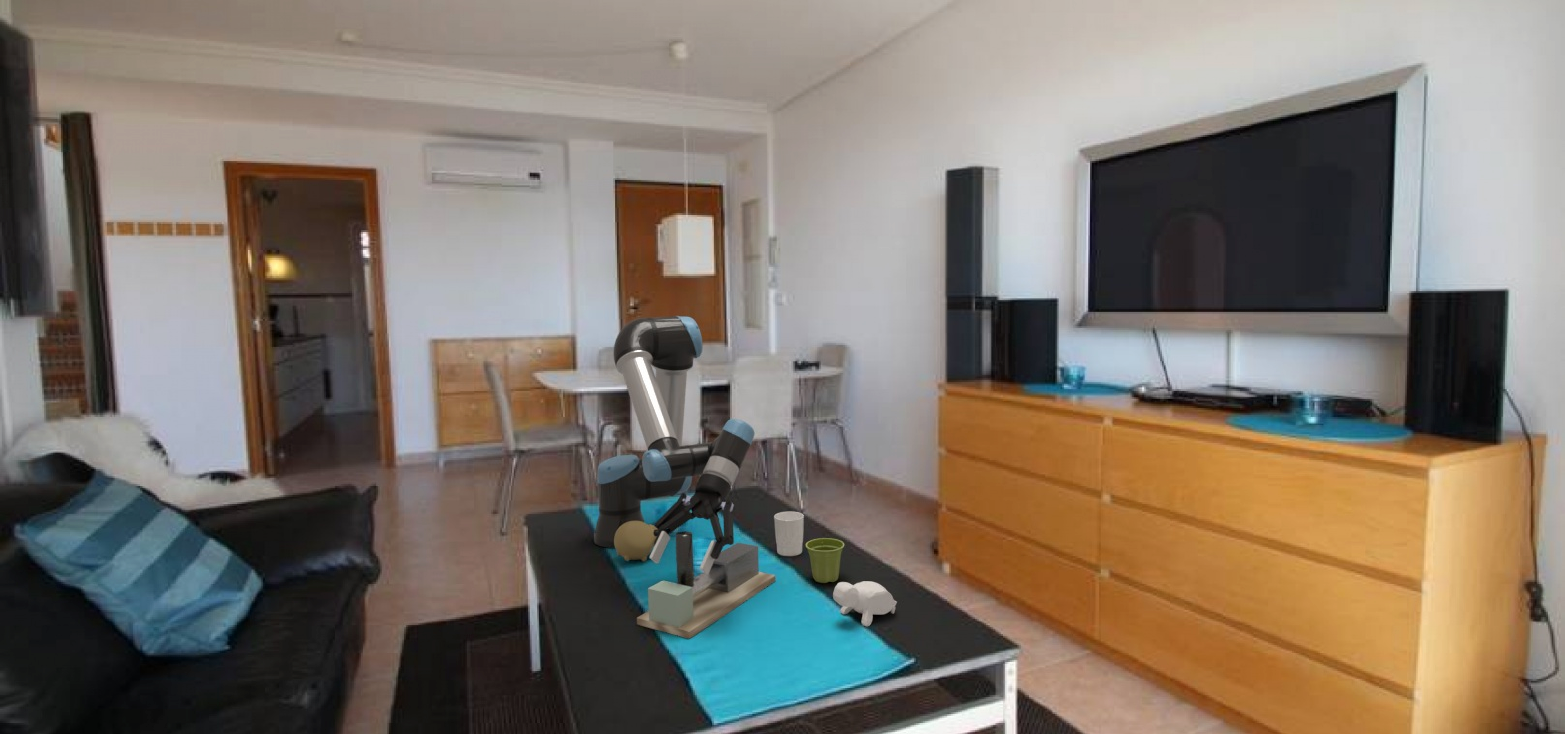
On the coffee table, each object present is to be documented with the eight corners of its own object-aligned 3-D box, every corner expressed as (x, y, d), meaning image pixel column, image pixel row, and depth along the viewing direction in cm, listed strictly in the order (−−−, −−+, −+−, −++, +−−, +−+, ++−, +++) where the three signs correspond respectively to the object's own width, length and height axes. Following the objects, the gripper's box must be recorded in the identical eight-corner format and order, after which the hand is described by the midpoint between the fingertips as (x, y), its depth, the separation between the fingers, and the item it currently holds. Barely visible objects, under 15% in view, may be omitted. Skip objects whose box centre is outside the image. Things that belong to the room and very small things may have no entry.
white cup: (804, 557, 201) (803, 520, 200) (774, 557, 201) (773, 520, 200) (804, 546, 209) (803, 511, 207) (775, 547, 209) (774, 511, 208)
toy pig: (666, 559, 201) (665, 520, 200) (624, 570, 194) (622, 529, 193) (651, 549, 209) (649, 511, 208) (609, 559, 203) (607, 520, 201)
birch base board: (637, 624, 163) (636, 617, 163) (727, 571, 192) (727, 565, 192) (689, 638, 156) (689, 631, 156) (775, 581, 185) (775, 575, 185)
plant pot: (799, 582, 184) (798, 547, 183) (816, 569, 192) (815, 535, 191) (835, 588, 180) (834, 553, 179) (850, 574, 188) (850, 540, 187)
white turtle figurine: (867, 616, 171) (818, 609, 163) (878, 579, 172) (829, 570, 164) (894, 630, 164) (844, 623, 156) (904, 591, 165) (855, 582, 157)
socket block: (649, 619, 162) (647, 588, 161) (664, 610, 166) (662, 580, 165) (679, 627, 158) (677, 595, 157) (693, 618, 162) (692, 587, 161)
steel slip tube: (662, 608, 162) (659, 541, 160) (718, 575, 179) (716, 514, 178) (675, 612, 160) (672, 543, 158) (731, 578, 178) (729, 516, 176)
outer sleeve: (707, 588, 178) (706, 559, 177) (738, 569, 189) (738, 542, 188) (728, 592, 175) (727, 563, 174) (758, 573, 186) (758, 546, 185)
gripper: (769, 495, 171) (733, 584, 159) (681, 483, 183) (642, 563, 172) (756, 478, 165) (718, 567, 154) (666, 466, 178) (625, 548, 167)
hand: (678, 566), depth 163 cm, fingers open, 13 cm apart
